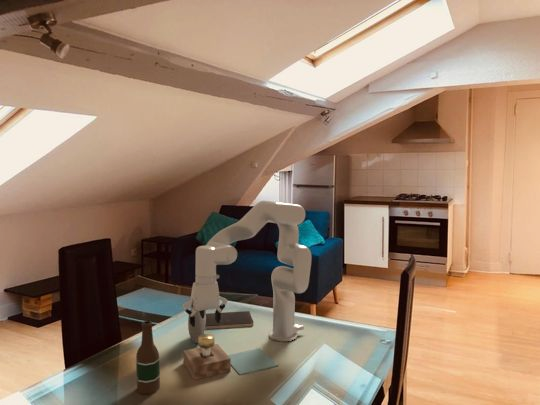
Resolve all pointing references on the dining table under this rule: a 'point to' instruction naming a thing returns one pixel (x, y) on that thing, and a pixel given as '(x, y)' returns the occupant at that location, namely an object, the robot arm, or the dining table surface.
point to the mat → (251, 361)
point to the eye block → (206, 362)
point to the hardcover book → (229, 320)
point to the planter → (197, 325)
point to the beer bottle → (147, 362)
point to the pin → (206, 344)
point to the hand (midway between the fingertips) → (205, 323)
